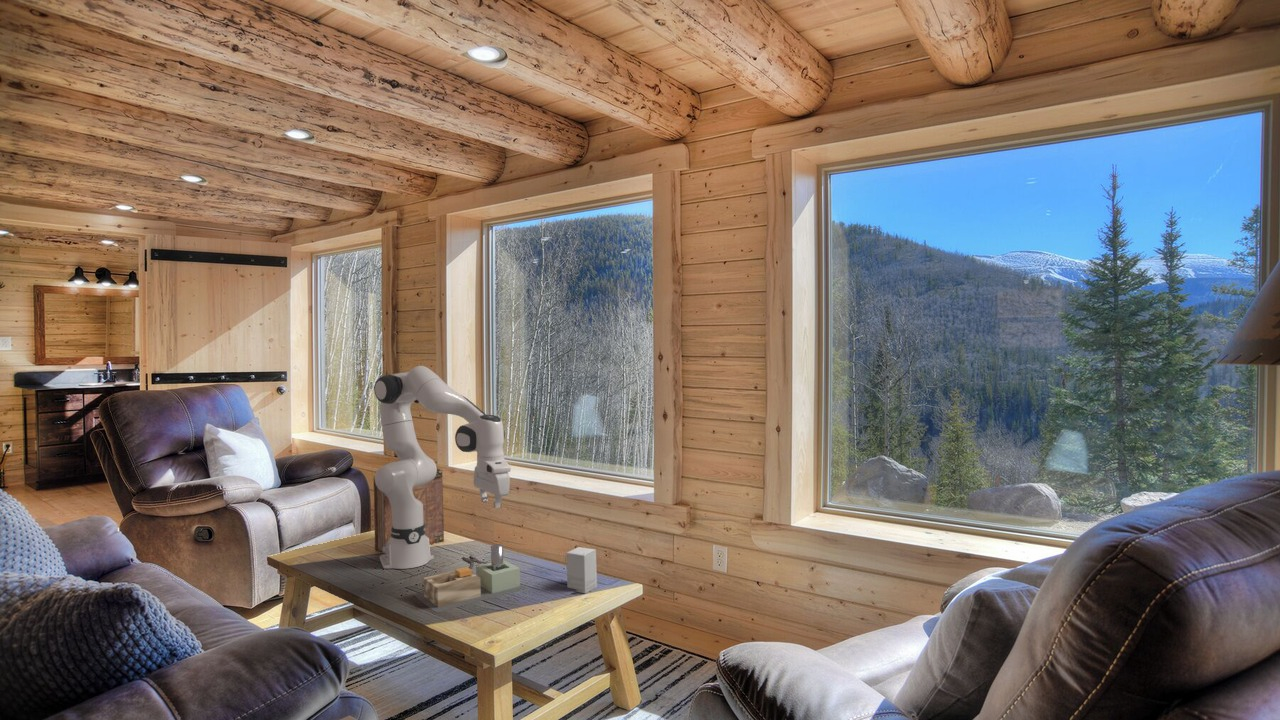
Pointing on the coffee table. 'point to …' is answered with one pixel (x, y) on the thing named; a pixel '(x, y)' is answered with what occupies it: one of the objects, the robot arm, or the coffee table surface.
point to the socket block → (451, 588)
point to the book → (432, 512)
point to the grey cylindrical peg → (497, 557)
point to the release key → (463, 572)
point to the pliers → (472, 561)
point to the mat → (484, 595)
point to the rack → (498, 577)
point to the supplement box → (581, 569)
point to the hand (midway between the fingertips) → (490, 504)
